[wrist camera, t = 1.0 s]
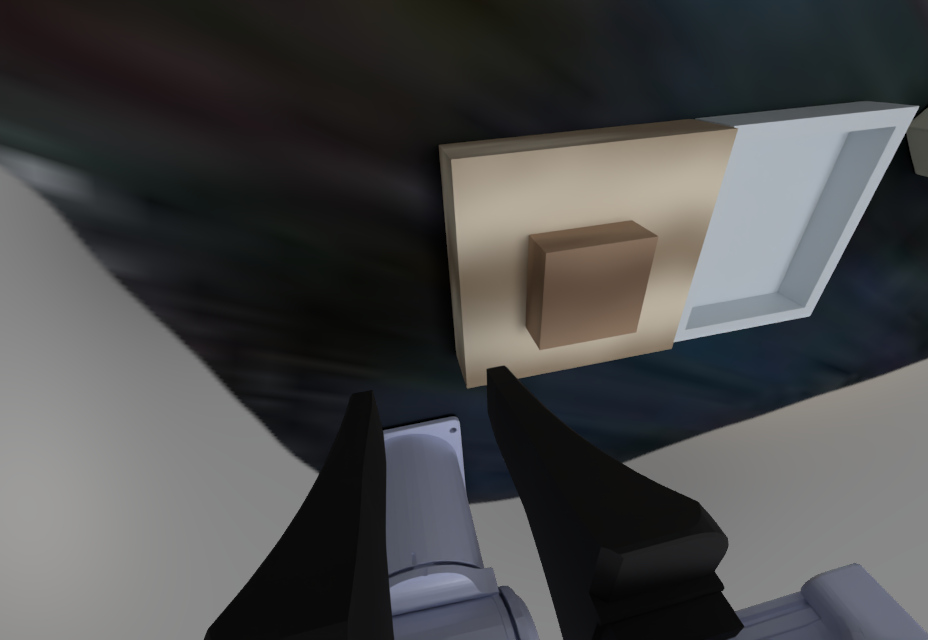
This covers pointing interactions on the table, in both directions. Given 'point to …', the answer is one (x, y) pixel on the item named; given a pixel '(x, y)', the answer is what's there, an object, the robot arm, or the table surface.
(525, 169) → the plate
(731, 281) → the box
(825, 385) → the table surface
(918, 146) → the skincare box
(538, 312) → the walnut tile
